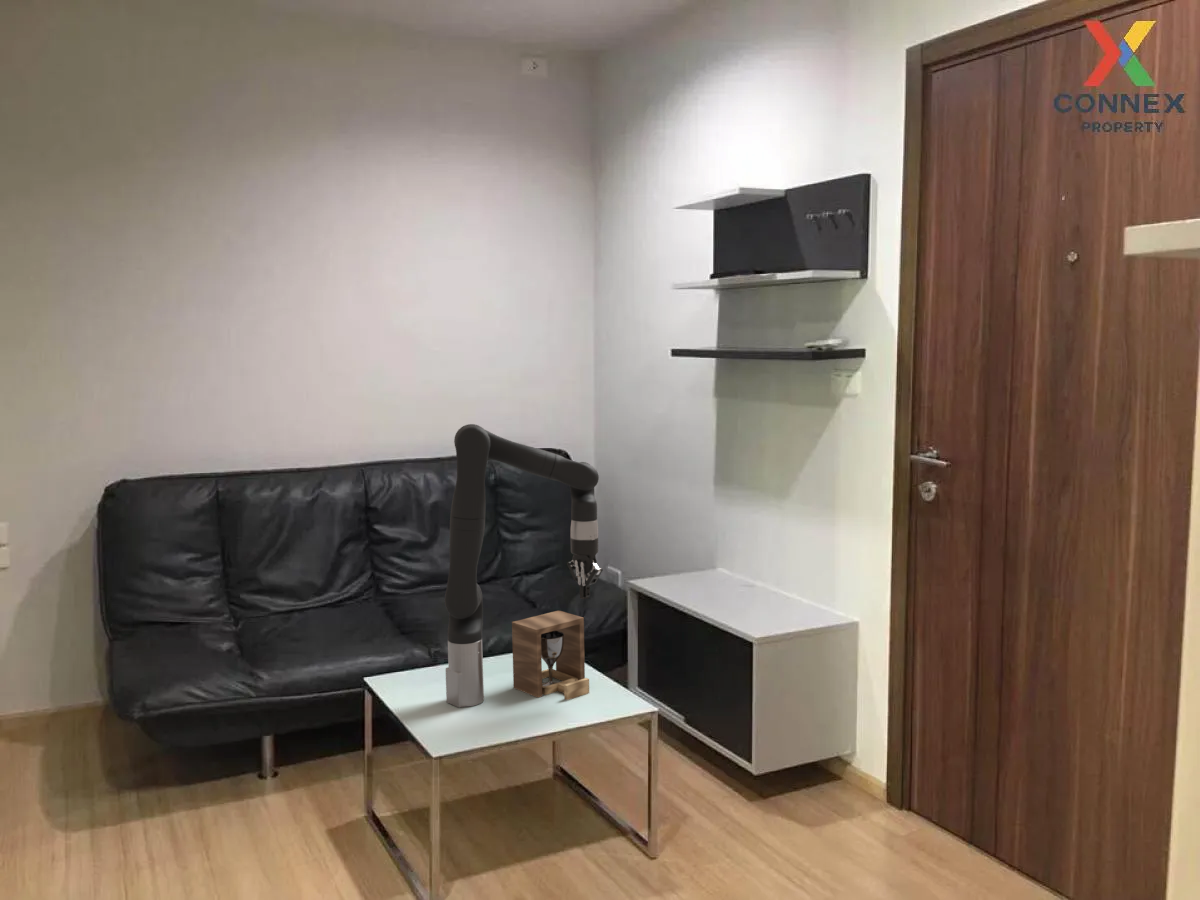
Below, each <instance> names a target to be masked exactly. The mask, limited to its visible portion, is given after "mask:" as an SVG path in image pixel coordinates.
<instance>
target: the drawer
mask: <svg viewBox="0 0 1200 900" xmlns="http://www.w3.org/2000/svg"><path fill="white" fill-rule="evenodd" d="M547 678H549V669H548V668H547V669H544V670H543V669H542V680H544V679H547ZM553 678H554V679H556V680H559V682H558V681H557V682H558V683H555V684H552V685H548V686H543V685H542V696H547V695H550V694H554V693H556V692H560V693H562V694H564V695H563V697H564V700H566V701H569V700H573V699H575V698H579V697H581V696H583V695H584V696H585V695H588V694H590V678H587V677H585V678H584V679H581V680H578V678H576V677H573V676H571V675H568V674H565V673H562V672H560V671H557V670H556V669H554V668H553V670H552V679H553Z"/></svg>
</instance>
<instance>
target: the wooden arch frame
mask: <svg viewBox="0 0 1200 900" xmlns="http://www.w3.org/2000/svg"><path fill="white" fill-rule="evenodd" d="M584 618H585V617H582V616H579V615H577V614H573V613H569V612H566V611H562V610H555V611H551V612H547V613H544V614H543V613H542V614H539V615H534V616H531V617H527V618H523V619H518V620H515V621H511V636H512V637H511V638H512V671H513V672H512V676H513V677H512V678H513V681H512V683H513V689H515V690H518V691H520V692H523V693H525V694H527V695H530V696H533V697H535V698H541V697H543V694H542V683H543V679H542V671H543V669H542V668H543V667H542V665H543V664H542V661H543V659H542V658H541V634H544V633H547V632H551V631H560V632H563V633H564V647H563V651H562V654H561V656H560V657H559V658H558V659H557V661H556V662H555V670H557V671H560V672H562V673H565V674H568V675H571V676H573V677H576V678H578V680H581V679H584V678H586V674H585V673H586V672H585V671H586V667H585V664H586V663H585V621H584V620H585V619H584Z"/></svg>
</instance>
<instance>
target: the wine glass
mask: <svg viewBox="0 0 1200 900" xmlns="http://www.w3.org/2000/svg"><path fill="white" fill-rule="evenodd" d="M563 647H564V633H563V632H560V631H551V632H547V633H544V634H541V659H542V661H544V662H545V664H546V665H547V669H549V677H548V681H546V682H542V685H543V686H548V685H552V684H555V683H558V681H553V677H552V670H553V669H554V665H555V664H556V661H557V659H558V658H559V657H560V656H561V654H562V651H563Z"/></svg>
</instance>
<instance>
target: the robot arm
mask: <svg viewBox="0 0 1200 900" xmlns="http://www.w3.org/2000/svg"><path fill="white" fill-rule="evenodd" d="M453 443H454V447H455V453H456V456H455V457H456V482H455V487H454V491H453V496H452V500H451V507H450V516H449V517H450V518H449V519H450V520H449V544H448V545H449V547H448V548H449V550H448V551H449V569H448V576H447V583H446V590H445V594H444V606H445V609H446V611H447V613H448V627H447V634H446V635H447V660H448V661H447V662H448V664H447V665H448V667H446V668H445V686H446V687H445V692H446V703H448V704H450V705H453V706H454V707H456V708H458V709H459V708H464V707H473V706H477V705H480V704H482V703H483V702H484V700H485V693H484V692H485V689H484V686H485V685H484V665H483V664H484V657H483V627H484V626H483V625H484V608H483V607H484V605H483V604H484V602H483V600H484V599H483V598H484V597H483V592H482V589H481V587H480V585H479V584H478V583H477V581H478V576H477V575H478V572H477V571H478V565H479V560H480V556H481V551H482V547H483V542H484V537H485V527H486V506H487V505H486V504H487V502H486V486H485V483H486V482H485V480H486V473H487V464H488V460H493V461H497V462H500V463H503V464H506V465H509V466H512V467H513V468H516V469H518V470H521V471H524V472H527V474H532V475H535V476H538V477H540V478H544V479H548V480H550V481H551V480H552V481H557V482H560V483H562V484H564V485H566V486H569V488H570V499H571V508H570V510H571V511H570V512H571V517H570V518H571V522H570V553H571V554H572V555H573V556H572V560H571V561H567V562H566V566H567V568H568V569H569V572H570V574H571V576H572V578H573V580H574V582H577V584H578V586H579V598H580V599H583V600H587V599H590V596H591V585H594V584H596V583H597V581H598V579H599V578H600V576H601V575H602V573H603V571H604V570H603V567H599V565H598V564H597V562H598V561H597V556H596V555H598V553H599V524H598V523H599V522H598V504H597V500H596V495H595V487H596V486H597V485H598V483H599V478H600V475H599V473H598V470H597V469H596V468H595V467H594V466H593V465H591V464H590V463H588V462H586V461H577V460H576V461H575V460H572V459H569V458H566V457H564V456H562V455H560V454H556V453H554V452H551V451H548V450H544V449H541V448H537V447H533V446H529V445H526V444H522V443H519V442H515V441H512V440H509V439H506V438H503V437H501V436H499V435H496V434H495V433H493V432H491V431H488V430H487V429H484V427H482V426H480V425H479V424H474V423H470V424H465V425H463V426H461V427H460V428H459V429H458V430H457V431H456V433H455V435H454V442H453Z"/></svg>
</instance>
